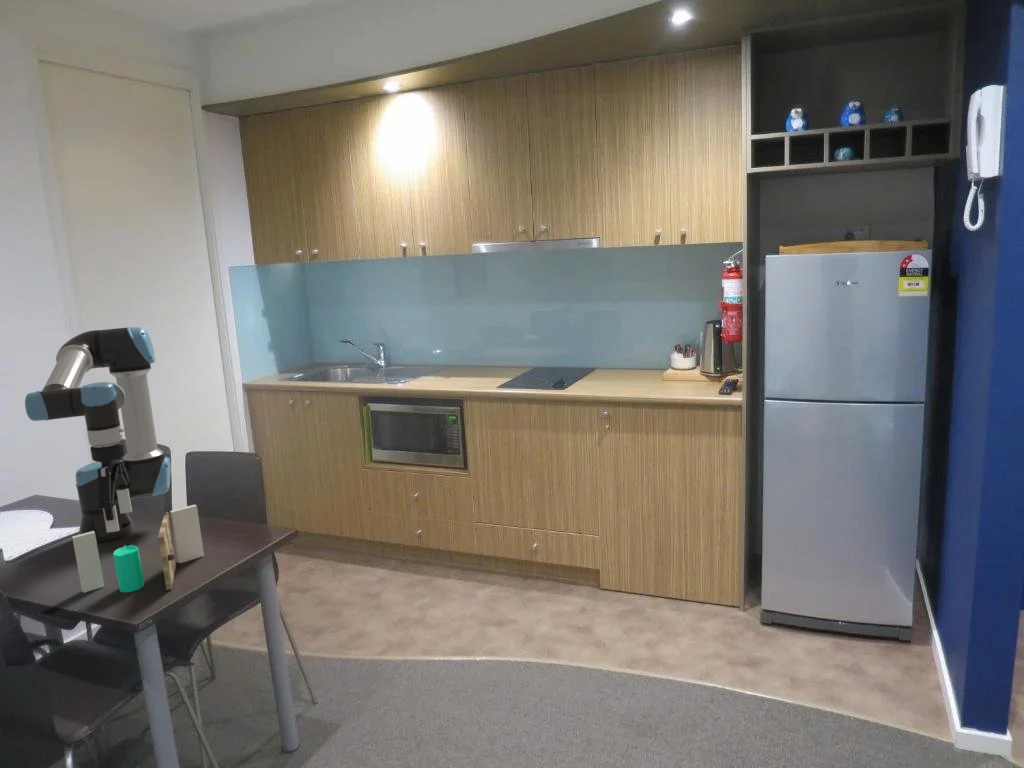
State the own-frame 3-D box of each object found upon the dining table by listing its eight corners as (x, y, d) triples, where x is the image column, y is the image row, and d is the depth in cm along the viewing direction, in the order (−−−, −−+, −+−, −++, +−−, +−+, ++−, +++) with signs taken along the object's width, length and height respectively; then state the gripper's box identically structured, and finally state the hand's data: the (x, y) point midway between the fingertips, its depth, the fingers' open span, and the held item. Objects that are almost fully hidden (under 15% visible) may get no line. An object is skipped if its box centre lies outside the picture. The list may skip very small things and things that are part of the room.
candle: (126, 582, 196) (119, 540, 194) (148, 581, 196) (141, 539, 194) (114, 593, 190) (107, 550, 188) (137, 591, 190) (130, 549, 188)
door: (171, 564, 205) (163, 515, 202) (182, 562, 206) (174, 513, 203) (166, 589, 190) (158, 536, 187) (178, 587, 191) (169, 534, 188)
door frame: (82, 590, 193) (72, 536, 190) (202, 554, 212) (195, 504, 209) (83, 592, 191) (73, 538, 188) (204, 555, 211) (196, 505, 208)
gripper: (109, 454, 174) (124, 537, 179) (134, 429, 198) (145, 503, 202) (75, 458, 173) (90, 542, 177) (103, 433, 196) (116, 507, 200)
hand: (120, 521), depth 190 cm, fingers open, 13 cm apart
